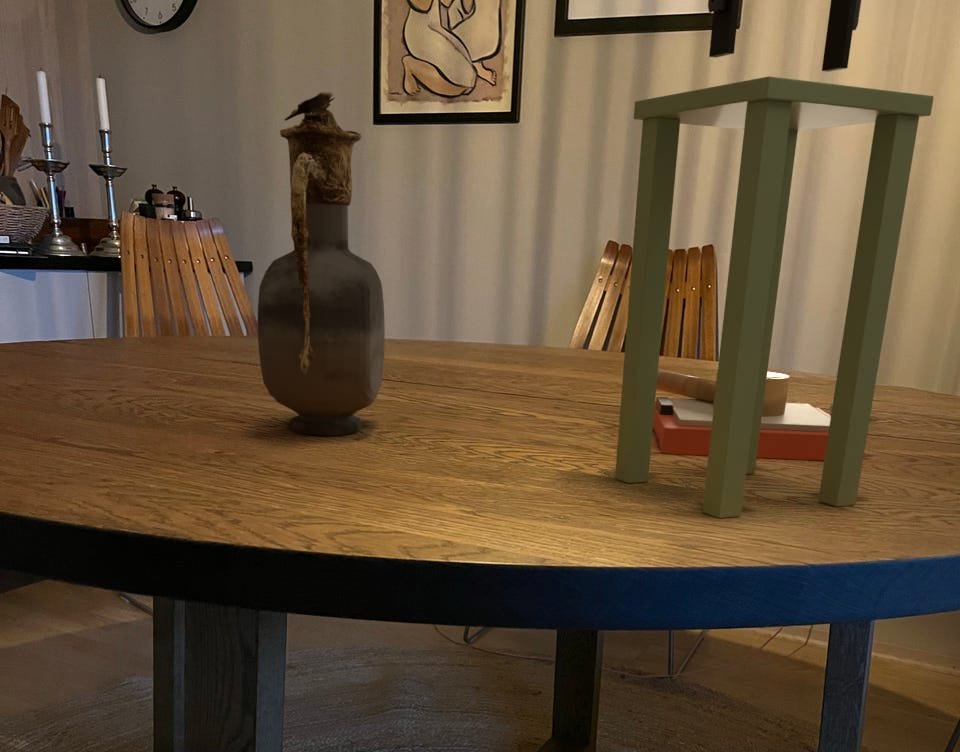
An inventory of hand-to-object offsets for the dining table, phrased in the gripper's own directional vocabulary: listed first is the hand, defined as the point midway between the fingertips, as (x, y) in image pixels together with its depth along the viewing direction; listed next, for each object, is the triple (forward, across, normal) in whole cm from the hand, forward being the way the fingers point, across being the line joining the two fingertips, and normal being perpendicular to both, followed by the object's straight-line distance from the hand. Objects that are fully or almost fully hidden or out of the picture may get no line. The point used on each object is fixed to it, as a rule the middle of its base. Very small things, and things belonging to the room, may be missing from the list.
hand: (779, 63), depth 98 cm
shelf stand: (+35, +19, +24) cm, 46 cm away
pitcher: (+35, +42, -11) cm, 56 cm away
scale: (+35, +3, +5) cm, 35 cm away
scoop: (+32, +3, -2) cm, 32 cm away
